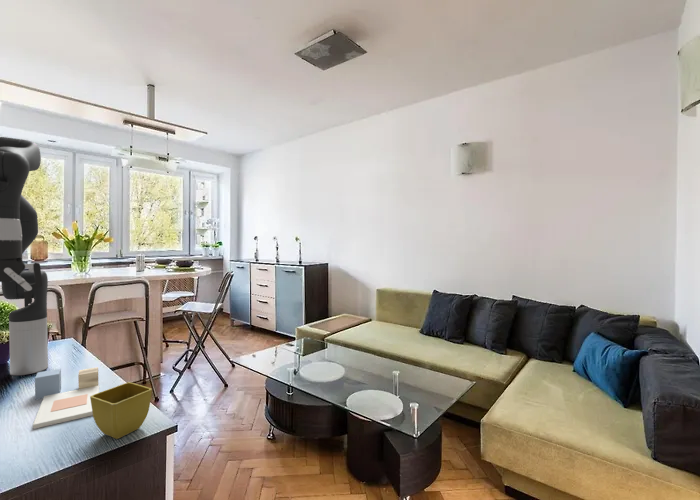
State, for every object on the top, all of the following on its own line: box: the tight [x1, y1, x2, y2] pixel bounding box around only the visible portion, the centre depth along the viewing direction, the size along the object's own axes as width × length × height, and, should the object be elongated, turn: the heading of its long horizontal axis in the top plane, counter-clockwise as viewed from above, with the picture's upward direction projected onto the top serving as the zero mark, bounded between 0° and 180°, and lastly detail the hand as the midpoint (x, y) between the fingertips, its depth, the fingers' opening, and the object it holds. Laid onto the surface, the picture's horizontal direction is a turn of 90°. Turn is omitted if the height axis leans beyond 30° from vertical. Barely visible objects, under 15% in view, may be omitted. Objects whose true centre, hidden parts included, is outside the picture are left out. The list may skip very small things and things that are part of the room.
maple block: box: [77, 366, 99, 389], centre depth 101 cm, size 4×4×5 cm
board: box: [32, 385, 100, 430], centre depth 89 cm, size 18×12×1 cm, turn 36°
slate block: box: [34, 368, 62, 401], centre depth 96 cm, size 5×5×6 cm
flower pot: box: [90, 381, 153, 440], centre depth 77 cm, size 9×9×9 cm
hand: (0, 308), depth 79 cm, fingers open, 8 cm apart
